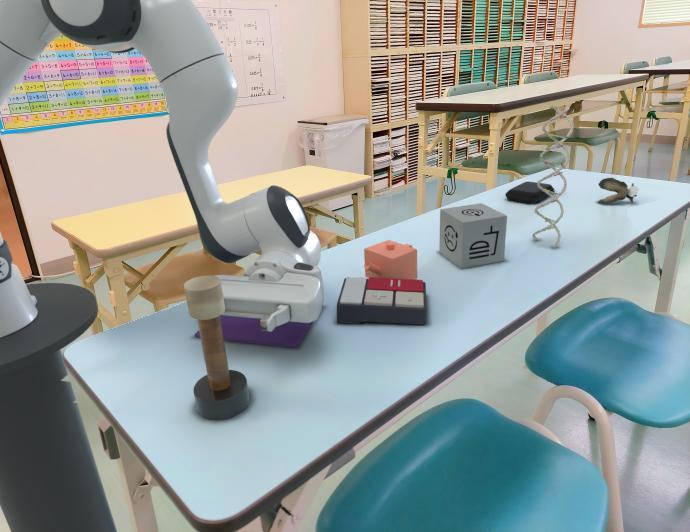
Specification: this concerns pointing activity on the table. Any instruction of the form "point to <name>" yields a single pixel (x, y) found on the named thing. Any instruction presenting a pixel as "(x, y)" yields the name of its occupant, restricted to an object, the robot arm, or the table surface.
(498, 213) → the icon cube
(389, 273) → the pink cube teapot
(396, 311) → the dark paneled box
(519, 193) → the carrying case
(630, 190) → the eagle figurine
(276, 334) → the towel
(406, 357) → the table surface
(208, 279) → the wooden rod on disc
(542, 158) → the dna model
